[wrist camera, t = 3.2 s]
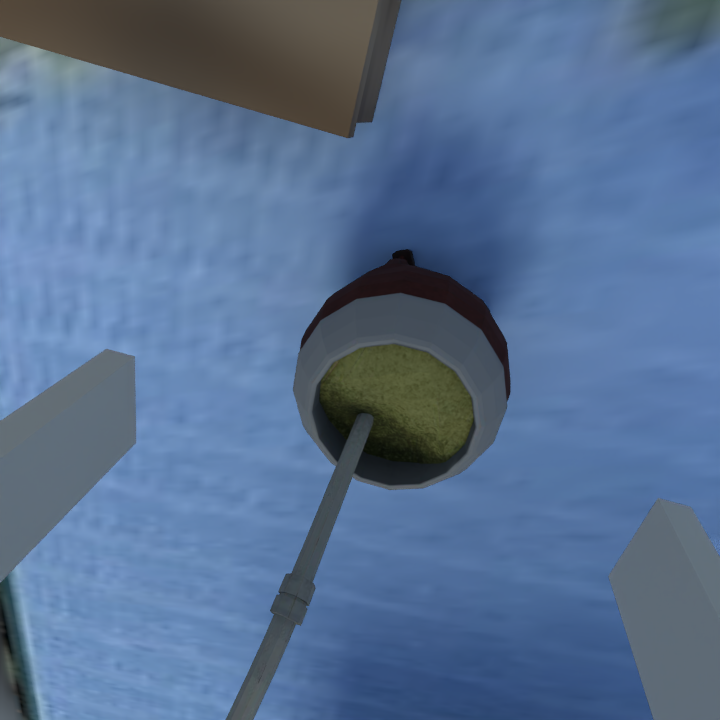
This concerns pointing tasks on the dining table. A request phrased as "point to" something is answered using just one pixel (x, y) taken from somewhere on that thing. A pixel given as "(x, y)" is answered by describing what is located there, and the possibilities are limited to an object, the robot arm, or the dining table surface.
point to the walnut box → (229, 49)
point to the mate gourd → (386, 410)
